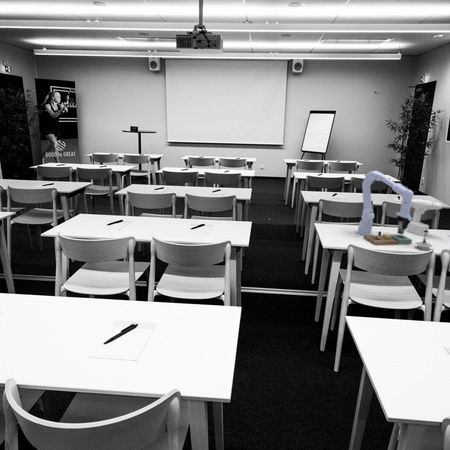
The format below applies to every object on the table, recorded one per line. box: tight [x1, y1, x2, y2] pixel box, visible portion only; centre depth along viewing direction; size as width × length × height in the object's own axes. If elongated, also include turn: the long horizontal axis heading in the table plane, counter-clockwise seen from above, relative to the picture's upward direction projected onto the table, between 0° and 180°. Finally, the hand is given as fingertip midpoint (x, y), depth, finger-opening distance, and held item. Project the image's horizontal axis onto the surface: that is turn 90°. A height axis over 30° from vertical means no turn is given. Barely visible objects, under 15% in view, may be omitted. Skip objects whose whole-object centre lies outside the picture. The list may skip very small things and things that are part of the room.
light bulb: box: [414, 230, 433, 251], centre depth 254 cm, size 12×10×10 cm
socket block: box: [363, 234, 398, 246], centre depth 265 cm, size 14×16×2 cm
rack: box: [389, 233, 413, 245], centre depth 268 cm, size 12×9×3 cm
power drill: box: [406, 198, 444, 237], centre depth 284 cm, size 8×24×25 cm, turn 27°
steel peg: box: [396, 221, 405, 235], centre depth 266 cm, size 4×4×8 cm
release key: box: [382, 233, 392, 239], centre depth 266 cm, size 4×4×4 cm
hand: (401, 228), depth 266 cm, fingers closed on steel peg, 4 cm apart
